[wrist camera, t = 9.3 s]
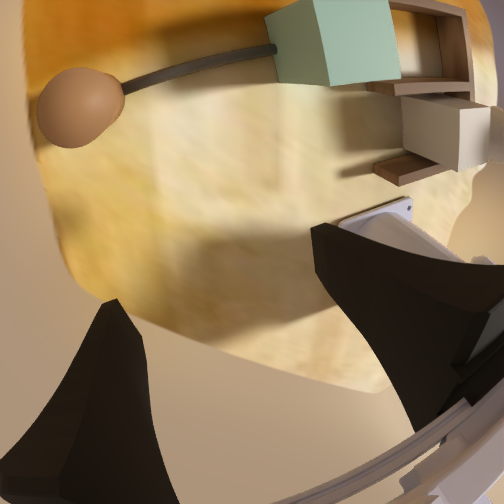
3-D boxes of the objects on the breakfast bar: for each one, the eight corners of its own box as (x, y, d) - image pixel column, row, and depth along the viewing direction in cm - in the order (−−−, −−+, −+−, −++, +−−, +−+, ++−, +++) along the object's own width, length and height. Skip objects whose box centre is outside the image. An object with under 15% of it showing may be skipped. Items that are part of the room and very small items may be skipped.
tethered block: (339, 73, 17) (401, 78, 12) (82, 147, 15) (54, 176, 10) (327, 12, 15) (387, -1, 10) (59, 80, 13) (19, 80, 8)
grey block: (436, 140, 22) (487, 162, 18) (402, 148, 22) (457, 172, 17) (434, 92, 20) (490, 107, 15) (399, 95, 19) (459, 109, 14)
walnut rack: (449, 151, 24) (473, 162, 21) (373, 173, 22) (398, 186, 20) (438, 9, 16) (465, 9, 13) (350, -4, 14) (377, -11, 12)
